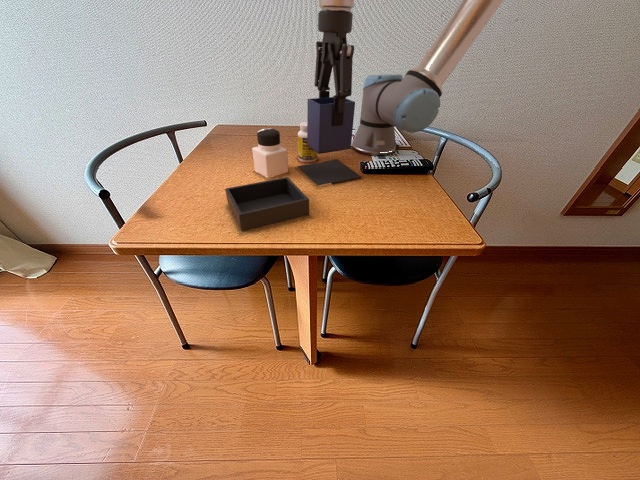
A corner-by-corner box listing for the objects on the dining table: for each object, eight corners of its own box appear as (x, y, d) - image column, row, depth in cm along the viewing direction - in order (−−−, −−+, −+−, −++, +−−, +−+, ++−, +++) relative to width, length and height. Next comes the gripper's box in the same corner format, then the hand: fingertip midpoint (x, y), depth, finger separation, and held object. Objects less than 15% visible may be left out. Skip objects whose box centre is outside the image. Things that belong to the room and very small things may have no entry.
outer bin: (288, 193, 74) (287, 176, 71) (309, 216, 65) (309, 199, 62) (228, 205, 68) (224, 188, 65) (242, 233, 59) (238, 215, 57)
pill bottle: (301, 164, 89) (301, 127, 83) (295, 156, 94) (294, 121, 87) (320, 161, 91) (321, 125, 84) (313, 154, 96) (313, 120, 89)
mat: (336, 161, 92) (336, 159, 92) (361, 178, 82) (361, 176, 82) (296, 168, 87) (296, 166, 86) (317, 187, 77) (317, 185, 77)
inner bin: (338, 141, 84) (341, 96, 77) (350, 149, 79) (355, 101, 72) (307, 145, 80) (307, 98, 73) (318, 154, 75) (319, 104, 68)
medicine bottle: (288, 173, 83) (286, 131, 76) (267, 180, 80) (263, 136, 72) (274, 165, 88) (271, 125, 80) (254, 171, 84) (249, 129, 77)
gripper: (300, 9, 67) (301, 113, 81) (344, 8, 53) (336, 134, 67) (328, 11, 70) (325, 111, 84) (377, 10, 56) (363, 130, 70)
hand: (330, 121), depth 76 cm, fingers closed on inner bin, 7 cm apart
